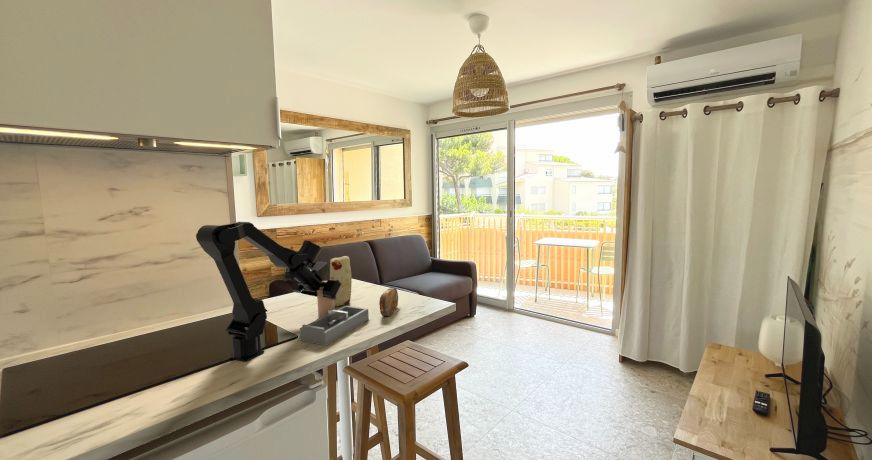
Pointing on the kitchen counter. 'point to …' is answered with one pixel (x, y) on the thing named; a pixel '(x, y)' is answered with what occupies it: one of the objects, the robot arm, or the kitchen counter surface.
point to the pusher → (336, 317)
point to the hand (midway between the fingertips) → (328, 297)
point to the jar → (324, 304)
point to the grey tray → (333, 326)
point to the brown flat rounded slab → (388, 302)
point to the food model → (342, 278)
